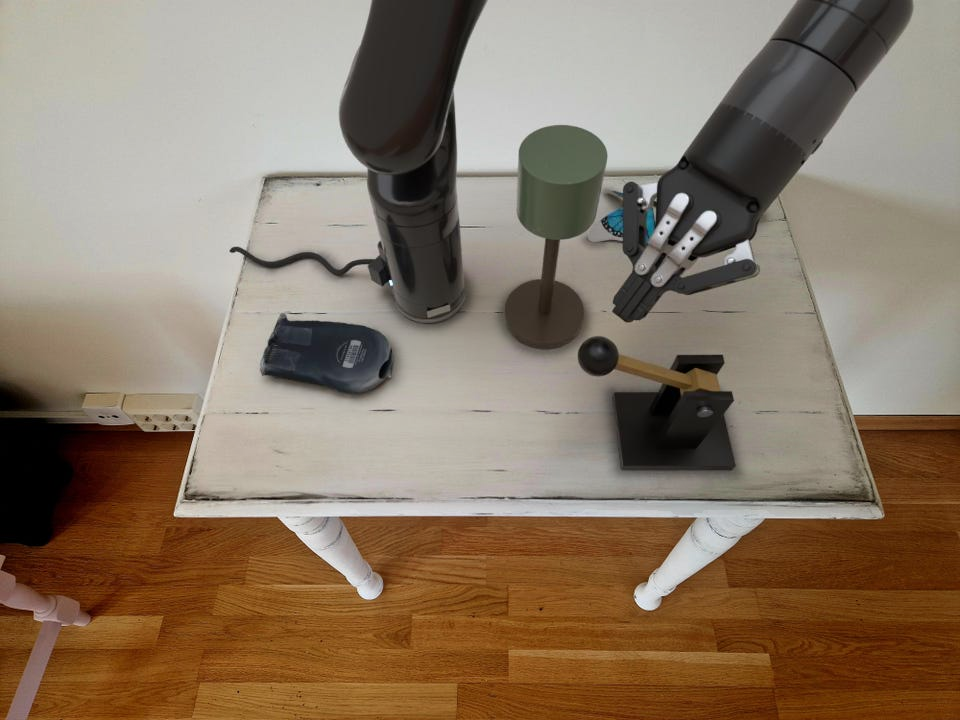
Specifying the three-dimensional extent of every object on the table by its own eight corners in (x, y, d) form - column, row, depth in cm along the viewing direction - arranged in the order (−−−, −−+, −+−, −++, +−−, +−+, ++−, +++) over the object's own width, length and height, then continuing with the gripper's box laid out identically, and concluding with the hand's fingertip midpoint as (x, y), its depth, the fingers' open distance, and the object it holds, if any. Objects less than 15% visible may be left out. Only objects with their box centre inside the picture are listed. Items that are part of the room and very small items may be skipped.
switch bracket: (621, 469, 63) (647, 420, 52) (612, 396, 67) (634, 337, 56) (731, 470, 62) (782, 420, 51) (715, 396, 67) (758, 336, 56)
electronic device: (269, 394, 70) (383, 401, 67) (248, 366, 66) (369, 372, 63) (297, 337, 76) (403, 341, 73) (280, 308, 72) (392, 311, 68)
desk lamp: (489, 323, 73) (485, 161, 51) (533, 274, 77) (548, 104, 55) (554, 363, 70) (579, 208, 48) (597, 310, 74) (639, 144, 52)
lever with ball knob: (571, 378, 51) (595, 359, 48) (568, 343, 52) (591, 324, 50) (699, 412, 56) (728, 398, 53) (693, 380, 58) (720, 365, 55)
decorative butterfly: (673, 240, 74) (603, 208, 74) (650, 268, 80) (585, 238, 80) (687, 188, 79) (622, 158, 79) (664, 218, 85) (603, 190, 84)
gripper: (679, 69, 41) (546, 269, 48) (847, 159, 36) (672, 370, 43) (702, 103, 48) (582, 276, 54) (848, 184, 42) (695, 365, 49)
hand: (622, 317), depth 48 cm, fingers closed
